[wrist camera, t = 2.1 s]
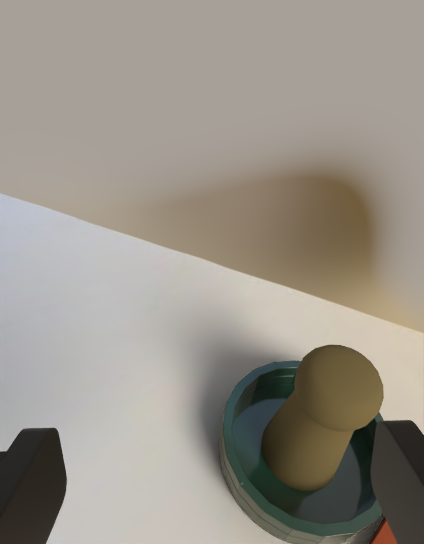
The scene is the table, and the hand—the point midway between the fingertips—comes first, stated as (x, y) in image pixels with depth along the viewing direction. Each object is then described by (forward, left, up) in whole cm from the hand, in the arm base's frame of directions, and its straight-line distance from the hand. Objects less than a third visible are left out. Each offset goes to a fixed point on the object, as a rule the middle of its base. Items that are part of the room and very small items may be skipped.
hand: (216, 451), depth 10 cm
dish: (0, +12, -20) cm, 23 cm away
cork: (0, +12, -20) cm, 23 cm away
